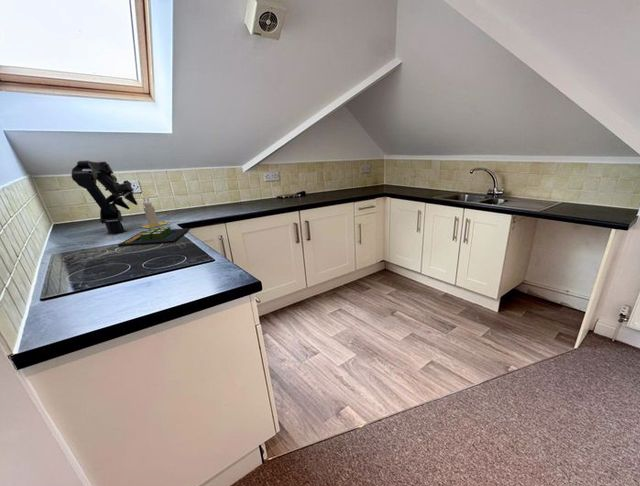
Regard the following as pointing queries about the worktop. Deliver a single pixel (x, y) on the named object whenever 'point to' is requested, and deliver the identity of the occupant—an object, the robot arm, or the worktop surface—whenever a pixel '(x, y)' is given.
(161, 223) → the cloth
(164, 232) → the sushi
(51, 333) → the worktop surface
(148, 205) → the toy rabbit
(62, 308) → the worktop surface
